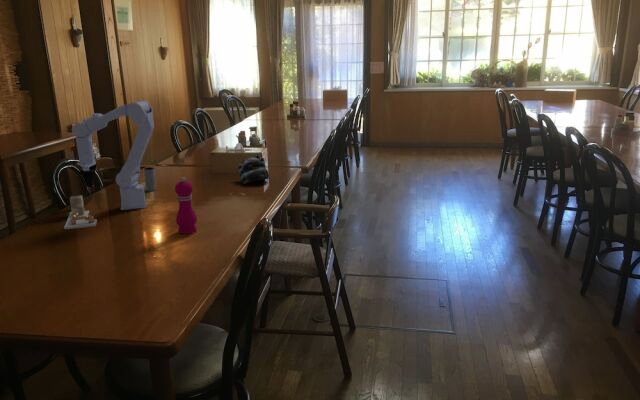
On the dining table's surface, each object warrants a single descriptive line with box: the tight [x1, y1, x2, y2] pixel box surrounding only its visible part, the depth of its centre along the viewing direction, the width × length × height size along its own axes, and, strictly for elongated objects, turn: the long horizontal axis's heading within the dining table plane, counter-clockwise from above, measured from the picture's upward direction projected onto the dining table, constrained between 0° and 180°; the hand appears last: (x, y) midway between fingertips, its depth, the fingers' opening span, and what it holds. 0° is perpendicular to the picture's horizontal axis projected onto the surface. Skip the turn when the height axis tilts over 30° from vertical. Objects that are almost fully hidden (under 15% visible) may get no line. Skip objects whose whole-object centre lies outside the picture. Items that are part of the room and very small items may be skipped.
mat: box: [67, 210, 90, 219], centre depth 201 cm, size 7×7×1 cm
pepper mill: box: [174, 176, 198, 235], centre depth 179 cm, size 7×7×20 cm
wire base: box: [63, 217, 98, 230], centre depth 192 cm, size 10×11×1 cm
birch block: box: [69, 194, 86, 216], centre depth 200 cm, size 4×4×7 cm
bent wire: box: [71, 212, 95, 225], centre depth 192 cm, size 8×8×3 cm
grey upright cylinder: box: [143, 166, 157, 192], centre depth 234 cm, size 4×4×10 cm
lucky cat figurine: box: [237, 155, 270, 185], centre depth 247 cm, size 15×12×14 cm
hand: (90, 184), depth 209 cm, fingers open, 7 cm apart
